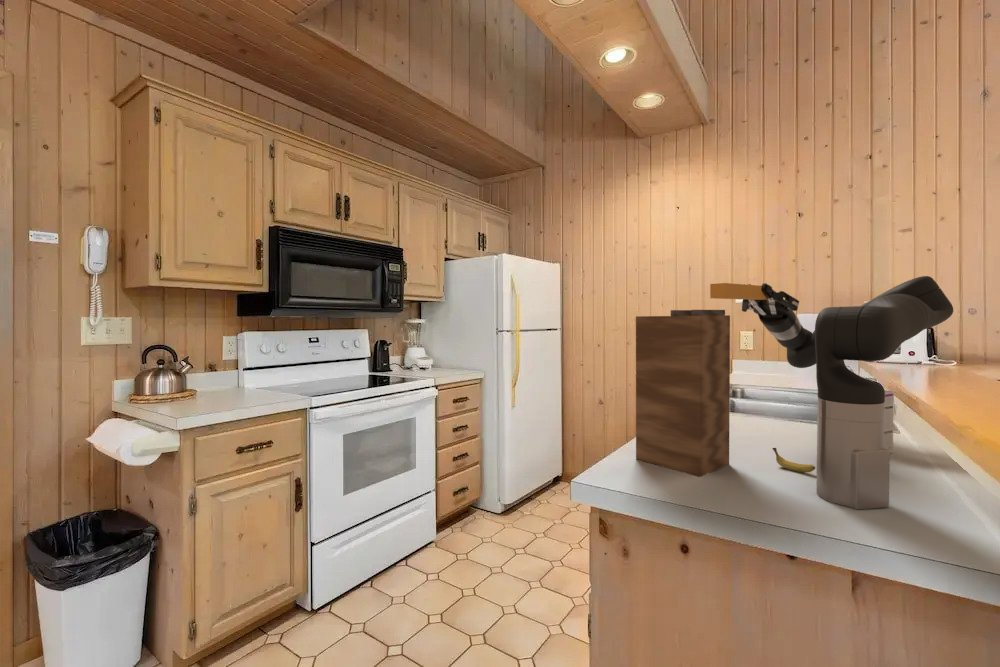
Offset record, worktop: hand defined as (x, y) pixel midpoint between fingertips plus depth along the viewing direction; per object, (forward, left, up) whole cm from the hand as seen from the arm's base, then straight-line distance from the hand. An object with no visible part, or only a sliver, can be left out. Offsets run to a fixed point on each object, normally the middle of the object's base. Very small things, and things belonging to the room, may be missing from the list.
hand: (755, 286), depth 114 cm
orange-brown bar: (-3, +6, -3) cm, 7 cm away
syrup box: (-10, -23, -39) cm, 46 cm away
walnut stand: (-10, +25, -39) cm, 47 cm away
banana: (-19, +5, -39) cm, 44 cm away
